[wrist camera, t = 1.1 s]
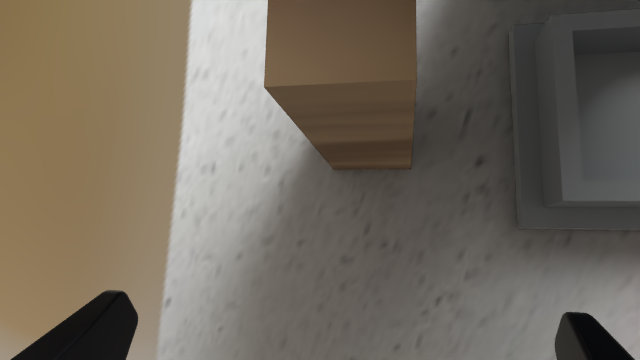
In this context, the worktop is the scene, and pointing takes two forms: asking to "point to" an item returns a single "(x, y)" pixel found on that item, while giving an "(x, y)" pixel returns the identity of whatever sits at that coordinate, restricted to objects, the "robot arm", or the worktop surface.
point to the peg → (346, 77)
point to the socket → (577, 121)
